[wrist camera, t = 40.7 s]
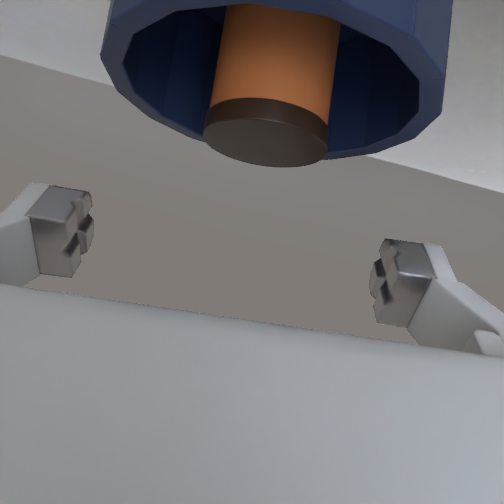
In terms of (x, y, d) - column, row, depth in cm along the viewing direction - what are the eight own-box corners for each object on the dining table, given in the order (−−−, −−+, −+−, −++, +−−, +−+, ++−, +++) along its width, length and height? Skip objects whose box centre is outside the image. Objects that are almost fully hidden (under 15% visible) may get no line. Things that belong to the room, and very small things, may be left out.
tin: (160, 21, 25) (139, 136, 24) (93, -270, 12) (43, -51, 12) (389, 59, 25) (376, 174, 24) (546, -186, 13) (530, 31, 12)
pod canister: (232, -6, 21) (205, 157, 20) (233, -98, 16) (198, 109, 15) (335, 12, 21) (313, 174, 20) (366, -74, 16) (340, 132, 15)
